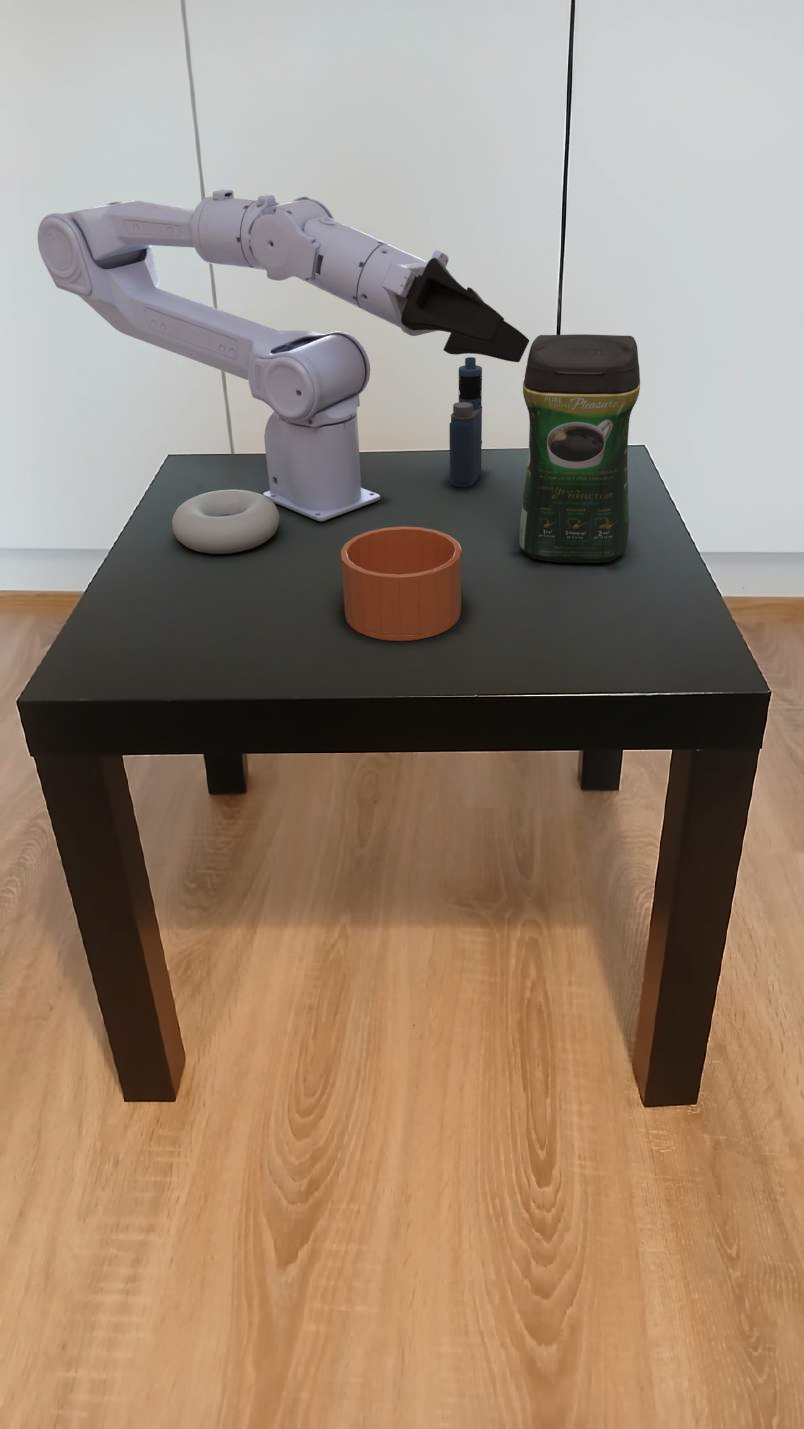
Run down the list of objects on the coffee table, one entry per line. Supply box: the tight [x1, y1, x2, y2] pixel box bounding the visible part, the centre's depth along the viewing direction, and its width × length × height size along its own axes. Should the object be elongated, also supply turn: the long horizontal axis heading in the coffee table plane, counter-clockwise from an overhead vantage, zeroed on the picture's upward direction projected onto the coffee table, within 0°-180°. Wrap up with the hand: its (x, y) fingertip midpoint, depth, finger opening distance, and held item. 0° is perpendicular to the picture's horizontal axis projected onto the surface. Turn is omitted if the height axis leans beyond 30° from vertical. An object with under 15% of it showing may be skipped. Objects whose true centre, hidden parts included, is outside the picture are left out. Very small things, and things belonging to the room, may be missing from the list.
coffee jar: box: [519, 333, 641, 564], centre depth 90 cm, size 10×8×19 cm
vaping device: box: [448, 356, 483, 488], centre depth 107 cm, size 3×5×12 cm, turn 161°
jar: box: [340, 526, 463, 642], centre depth 84 cm, size 9×9×6 cm
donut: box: [171, 489, 281, 555], centre depth 98 cm, size 10×3×10 cm
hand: (511, 340), depth 87 cm, fingers open, 7 cm apart
